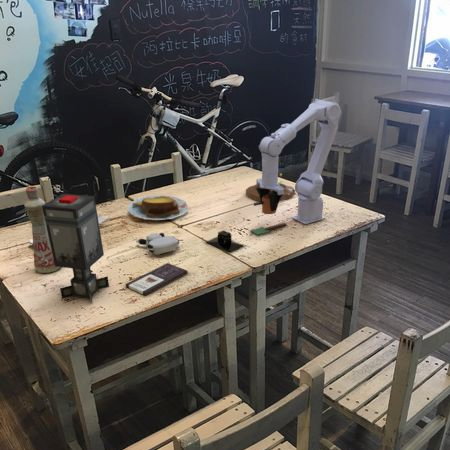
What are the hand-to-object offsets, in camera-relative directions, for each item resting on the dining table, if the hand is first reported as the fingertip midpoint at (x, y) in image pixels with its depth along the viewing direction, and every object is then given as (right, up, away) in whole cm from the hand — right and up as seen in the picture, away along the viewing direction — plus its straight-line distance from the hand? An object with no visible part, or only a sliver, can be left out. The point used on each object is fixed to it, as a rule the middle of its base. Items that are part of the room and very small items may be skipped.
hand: (269, 208), depth 189 cm
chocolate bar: (-38, -28, -28) cm, 55 cm away
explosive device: (-59, -32, -34) cm, 75 cm away
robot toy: (-40, -16, -8) cm, 44 cm away
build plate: (-17, -14, -7) cm, 23 cm away
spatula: (0, -7, +4) cm, 8 cm away
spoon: (-75, -9, +5) cm, 76 cm away
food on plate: (-44, +2, +23) cm, 50 cm away
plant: (+3, +13, +38) cm, 40 cm away
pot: (-2, -2, 0) cm, 3 cm away
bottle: (-75, -24, -19) cm, 81 cm away
